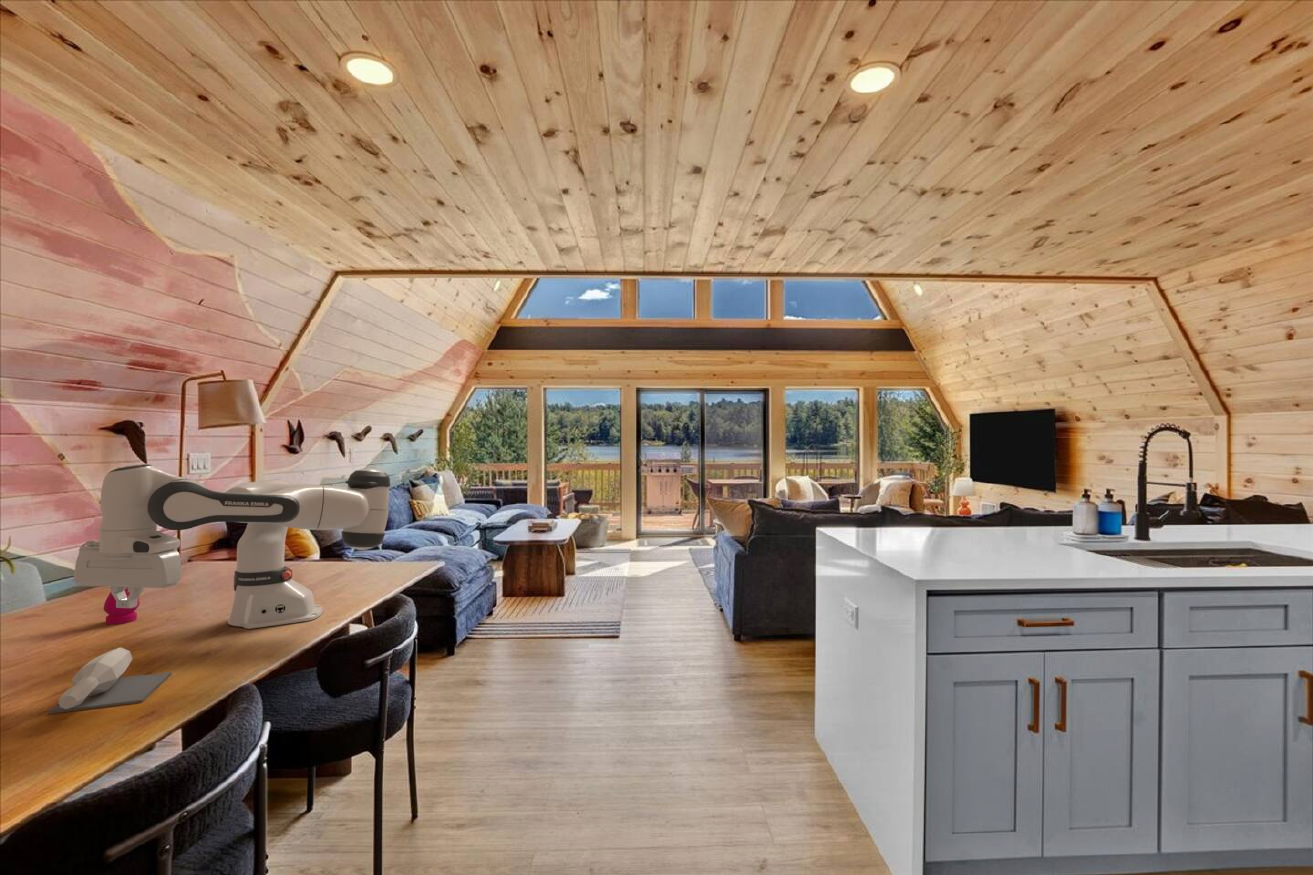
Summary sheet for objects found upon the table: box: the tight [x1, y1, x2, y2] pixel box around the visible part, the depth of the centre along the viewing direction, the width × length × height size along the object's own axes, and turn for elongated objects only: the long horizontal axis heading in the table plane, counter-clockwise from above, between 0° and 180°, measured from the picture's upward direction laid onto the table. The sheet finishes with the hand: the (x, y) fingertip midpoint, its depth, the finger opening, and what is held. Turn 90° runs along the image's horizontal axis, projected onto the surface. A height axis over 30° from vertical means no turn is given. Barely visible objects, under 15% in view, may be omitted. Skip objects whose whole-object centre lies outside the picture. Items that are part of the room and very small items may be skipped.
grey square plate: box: [48, 671, 172, 715], centre depth 113 cm, size 14×14×1 cm
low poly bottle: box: [58, 647, 133, 709], centre depth 110 cm, size 6×6×22 cm
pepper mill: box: [103, 587, 141, 626], centre depth 156 cm, size 7×7×20 cm
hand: (126, 607), depth 119 cm, fingers closed
